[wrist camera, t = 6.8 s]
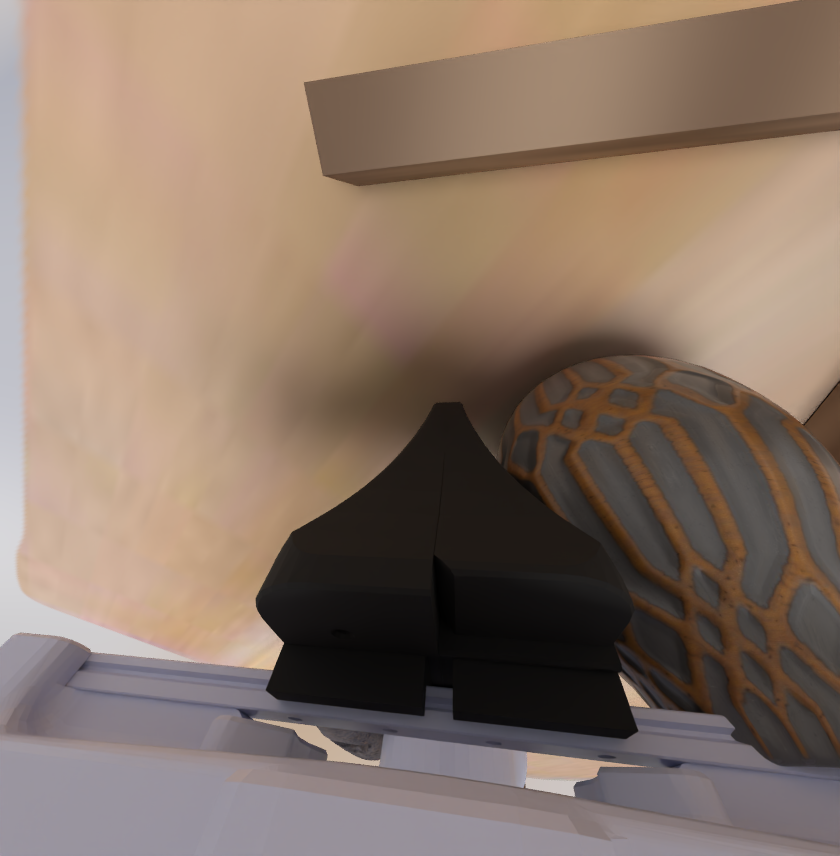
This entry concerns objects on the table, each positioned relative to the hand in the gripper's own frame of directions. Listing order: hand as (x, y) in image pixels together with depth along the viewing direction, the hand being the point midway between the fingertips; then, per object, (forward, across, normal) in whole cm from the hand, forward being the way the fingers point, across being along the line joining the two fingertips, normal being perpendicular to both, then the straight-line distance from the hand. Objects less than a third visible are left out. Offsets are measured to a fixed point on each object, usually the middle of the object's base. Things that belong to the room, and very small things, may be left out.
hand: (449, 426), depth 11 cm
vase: (+1, -5, 0) cm, 5 cm away
